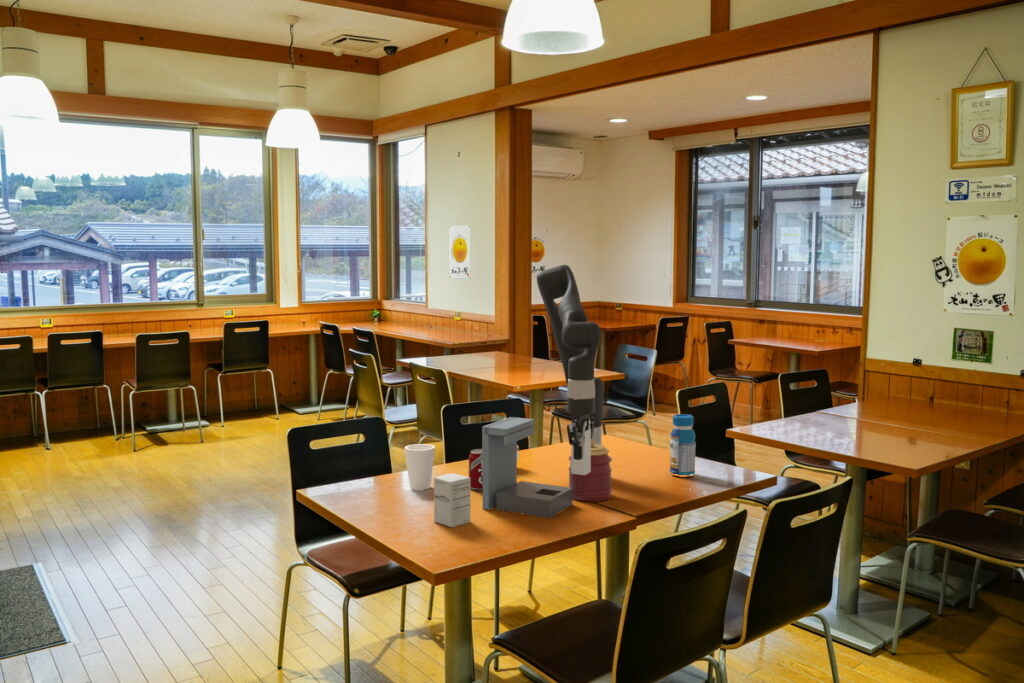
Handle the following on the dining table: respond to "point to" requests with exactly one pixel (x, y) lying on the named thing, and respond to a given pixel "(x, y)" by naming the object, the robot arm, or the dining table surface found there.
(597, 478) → the canister
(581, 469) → the peg
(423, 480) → the foam cup
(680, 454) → the beverage bottle
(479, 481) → the soda can
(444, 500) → the supplement box
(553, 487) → the socket
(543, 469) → the dining table surface
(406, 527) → the dining table surface
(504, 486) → the coffee dispenser stand
